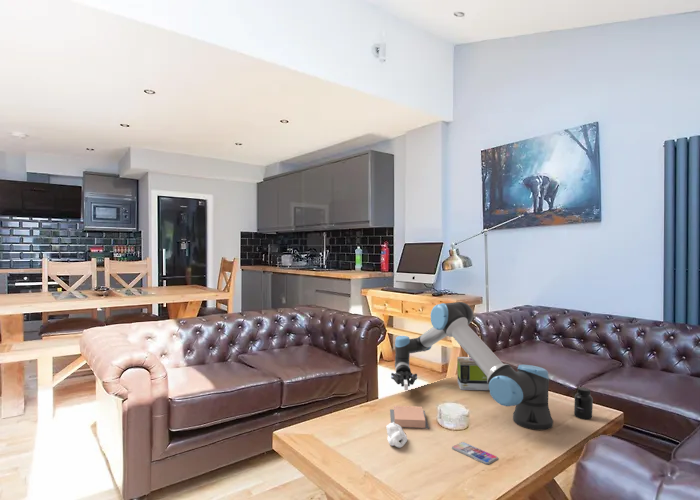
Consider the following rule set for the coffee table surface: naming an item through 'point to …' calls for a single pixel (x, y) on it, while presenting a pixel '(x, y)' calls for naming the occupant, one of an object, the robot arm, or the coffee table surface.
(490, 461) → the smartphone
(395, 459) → the coffee table surface
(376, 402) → the coffee table surface
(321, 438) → the coffee table surface
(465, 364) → the tea box
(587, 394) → the supplement bottle
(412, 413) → the tile
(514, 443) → the coffee table surface
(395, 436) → the white lumpy piece
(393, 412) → the mat
